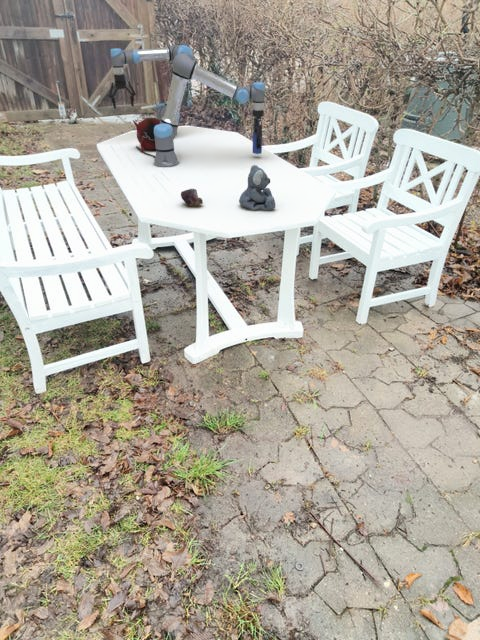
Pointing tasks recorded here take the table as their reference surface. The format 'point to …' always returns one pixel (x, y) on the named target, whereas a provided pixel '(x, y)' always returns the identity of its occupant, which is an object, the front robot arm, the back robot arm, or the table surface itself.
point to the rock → (191, 197)
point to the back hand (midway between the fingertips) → (123, 107)
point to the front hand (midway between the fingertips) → (257, 147)
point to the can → (255, 150)
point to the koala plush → (257, 191)
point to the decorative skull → (147, 133)
